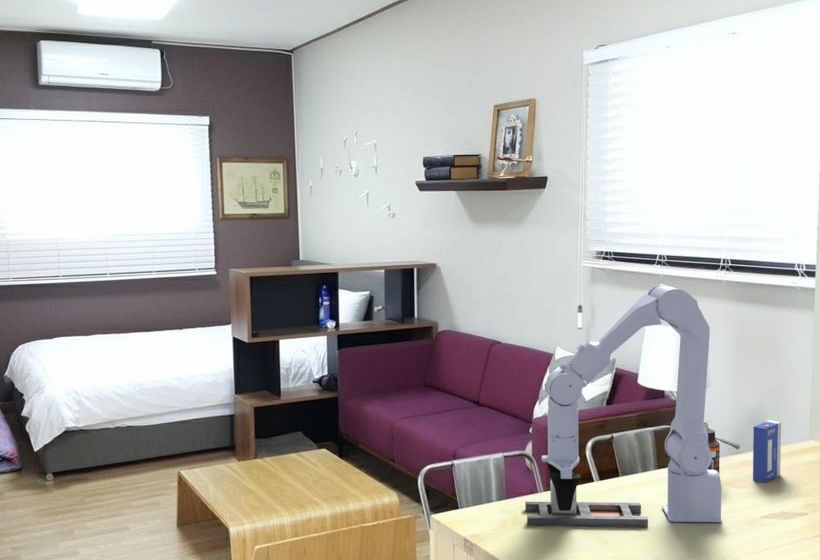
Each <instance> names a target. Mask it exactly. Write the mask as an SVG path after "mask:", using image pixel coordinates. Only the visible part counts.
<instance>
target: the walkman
mask: <svg viewBox="0 0 820 560" xmlns="http://www.w3.org/2000/svg"><path fill="white" fill-rule="evenodd" d="M781 445H782V422H781V421H778V420H777V421H776V420H770V419H767V420H766V421H763V422H761V423H759V424H757V425H755V426H753V445H752V446H753V447H752V448H753V450H752V451H753V452H752V453H753V454H752V456H753V457H752V481H756V482H760V483H761V482H762V483H767V482H769V481H771V480H773V479H775V478H777V477H778V476H780V475H781V452H782V450H781V449H782V448H781V447H782V446H781Z"/></svg>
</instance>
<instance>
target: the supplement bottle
mask: <svg viewBox="0 0 820 560" xmlns="http://www.w3.org/2000/svg"><path fill="white" fill-rule="evenodd" d="M706 431H707V434H708V446H709V448H710V451H711V453H712V461H711V464H710V466H709V468H708V469H709V470H717V471H718V473H719V474H720V460H721V459H720V453H721V452H720V451H721V449H720V448H721V447H720V443H719V441H718V440H717V439H716V438H715V437H716V430H714V429H712V428H706Z"/></svg>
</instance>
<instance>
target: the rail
mask: <svg viewBox="0 0 820 560" xmlns="http://www.w3.org/2000/svg"><path fill="white" fill-rule="evenodd" d="M524 506H525V507H524V508H525V512H530V513H531V512H533V513H538V515H537V514H527V515H526V525H527V526H528V527H581V526H585V527H586V528H587V527H589V528H591V527H593V528H594V527H595V528H598V527H599V528H601V527H602V528H649V519H648V516H637V515H635V516H634V515H633V514H642V504H641V503H640V502H611V501H609V502H603V501H602V502H601V501H600V502H597V501H596V502H595V501H591V502H590V501H588V502H586V501H576V510H577V516H561V515H551V514H549V513H551V501H525V505H524ZM590 511H594V512H619V514H620V516H592V515H591V512H590Z"/></svg>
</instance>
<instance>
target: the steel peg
mask: <svg viewBox="0 0 820 560" xmlns="http://www.w3.org/2000/svg"><path fill="white" fill-rule="evenodd" d="M572 474H575V473H574V472H573V473H572ZM549 479H550V480H549V481H550V485H549V486H550V502H551V512H550V515H561V516H578V512H577V510H576V502H577V488H576V489H575V492H574V497H573V502H572V507H571V510H570V511H560V510H559V507H558V503H557V497H556V491H555V487H554V485H553V482H552V480H551V478H550V477H549Z"/></svg>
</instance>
